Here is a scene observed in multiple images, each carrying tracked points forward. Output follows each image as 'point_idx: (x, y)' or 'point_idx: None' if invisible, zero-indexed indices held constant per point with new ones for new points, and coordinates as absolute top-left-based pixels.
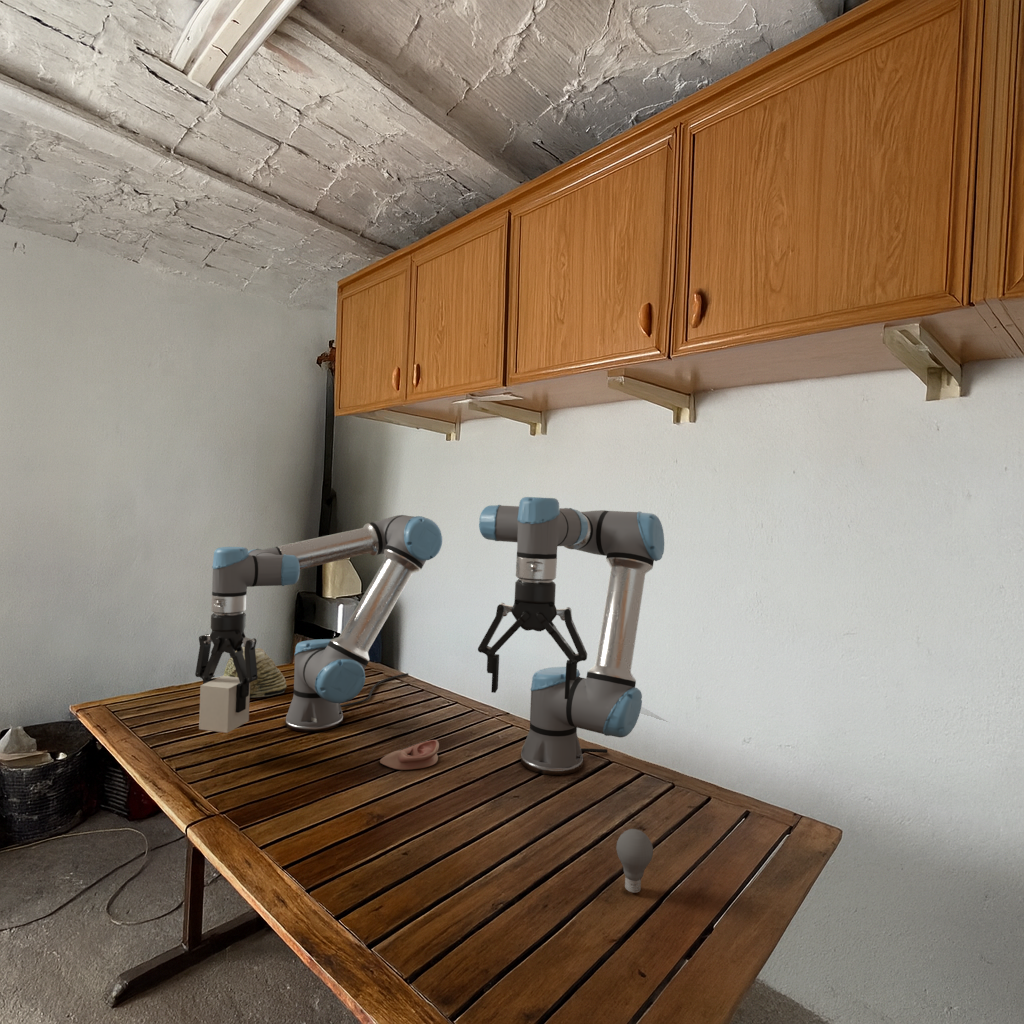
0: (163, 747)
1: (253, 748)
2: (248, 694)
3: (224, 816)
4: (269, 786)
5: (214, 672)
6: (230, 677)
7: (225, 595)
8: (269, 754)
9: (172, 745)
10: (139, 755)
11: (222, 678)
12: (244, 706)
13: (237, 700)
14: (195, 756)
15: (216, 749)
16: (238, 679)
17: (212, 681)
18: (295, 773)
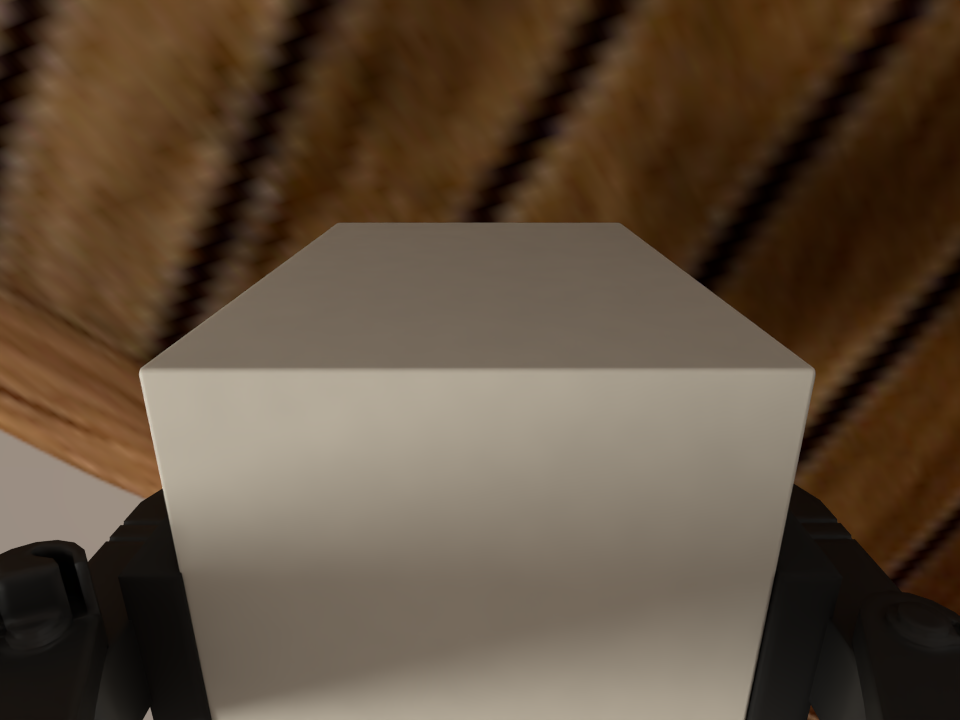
0: (23, 241)
1: (556, 80)
2: (814, 504)
3: None
4: (870, 491)
5: (85, 688)
6: (368, 423)
7: None
8: (706, 141)
9: (41, 197)
10: (14, 373)
11: (275, 525)
12: None
13: None
14: None
15: (340, 171)
16: (610, 492)
17: (255, 703)
18: (956, 338)
